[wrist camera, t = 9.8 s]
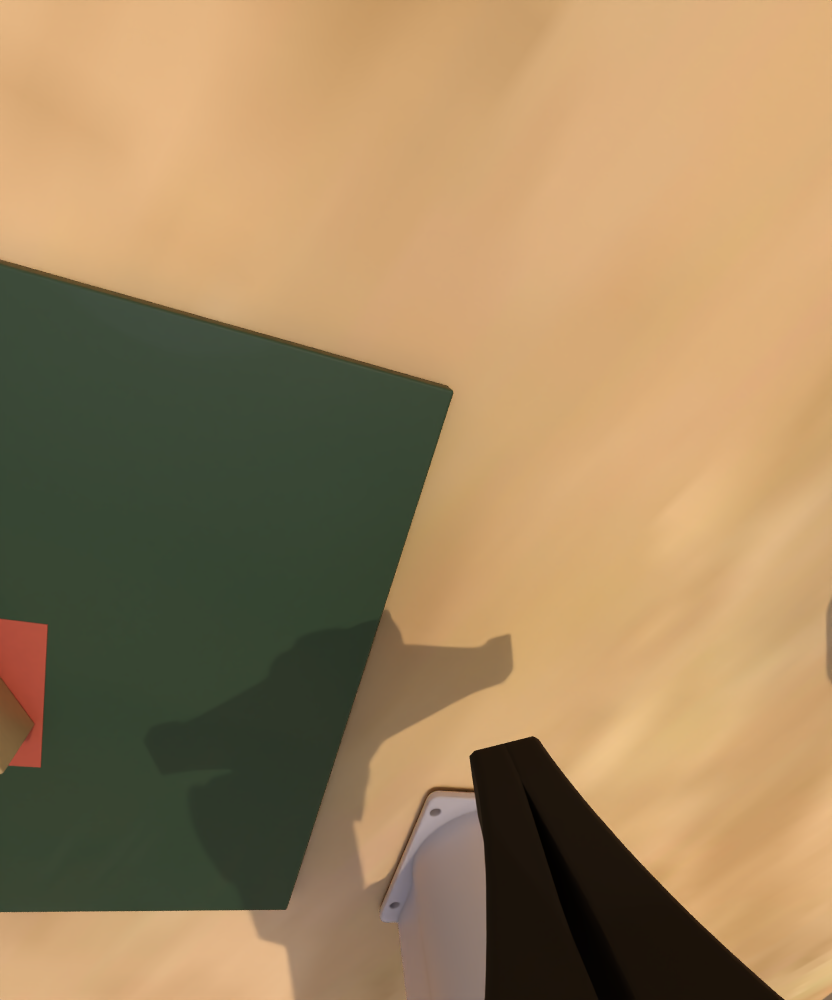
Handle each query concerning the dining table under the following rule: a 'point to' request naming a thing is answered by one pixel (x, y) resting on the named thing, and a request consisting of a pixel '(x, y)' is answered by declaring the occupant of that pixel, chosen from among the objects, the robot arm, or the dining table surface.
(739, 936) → the dining table surface
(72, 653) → the game board
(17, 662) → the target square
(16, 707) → the letter tile
